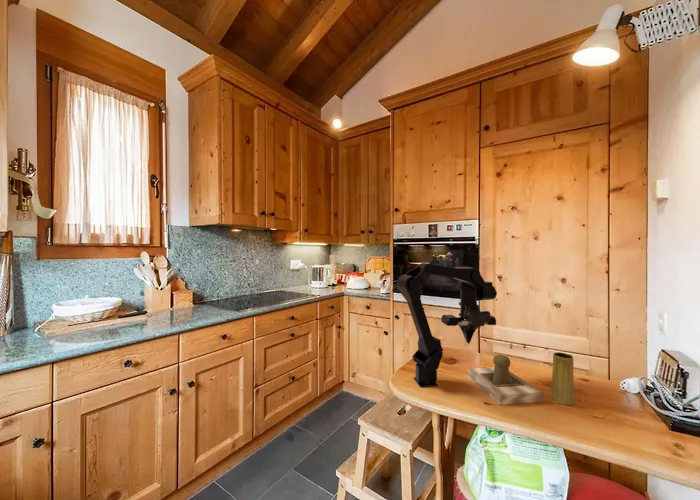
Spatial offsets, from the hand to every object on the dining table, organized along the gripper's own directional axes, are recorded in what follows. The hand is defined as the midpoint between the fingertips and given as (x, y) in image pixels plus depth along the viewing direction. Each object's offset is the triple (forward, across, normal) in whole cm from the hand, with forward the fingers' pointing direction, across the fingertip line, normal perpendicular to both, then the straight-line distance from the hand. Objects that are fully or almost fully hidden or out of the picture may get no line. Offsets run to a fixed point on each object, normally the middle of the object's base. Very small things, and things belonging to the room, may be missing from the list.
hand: (468, 342), depth 110 cm
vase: (+12, +21, -20) cm, 31 cm away
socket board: (+12, +7, -10) cm, 17 cm away
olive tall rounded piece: (+12, +7, -10) cm, 18 cm away
